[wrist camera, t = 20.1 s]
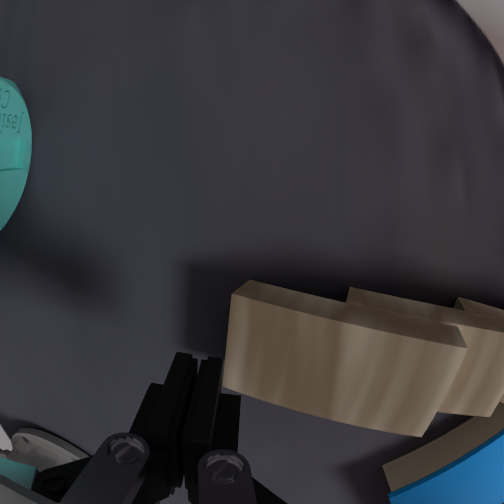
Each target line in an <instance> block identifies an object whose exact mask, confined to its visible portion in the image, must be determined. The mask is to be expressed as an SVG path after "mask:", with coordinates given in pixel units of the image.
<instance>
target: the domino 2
mask: <svg viewBox="0 0 504 504" xmlns="http://www.w3.org/2000/svg"><path fill="white" fill-rule="evenodd" d="M346 303H349V304H353V305H357V306H362V307H366V308H371V309H375V310H380V311H384V312H389V313H393V314H398V315H402V316H407V317H412V318H416V319H421V320H426V321H430V322H435V323H440V324H445V325H450V326H454V327H458V328H459V330H460V332H461V334H462V337H463V339H464V341H465V343H466V345H467V348H468V350H467V352H466V354H465V357H464V359H463V361H462V363H461V365H460V368H459V370H458V372H457V374H456V376H455V378H454V380H453V382H452V384H451V386H450V388H449V390H448V392H447V394H446V396H445V398H444V400H443V401H442V403H441V405H440V407H439V409H438V411H437V412H444V413H452V414H461V415H471V416H482V417H490V416H491V415H492V413H493V411H494V410H495V408H496V406H497V405H498V403H499V401H500V399H501V398H502V396H503V394H504V318H499V317H493V316H488V315H483V314H478V313H473V312H468V311H463V310H458V309H454V308H449V307H444V306H439V305H434V304H429V303H424V302H419V301H415V300H410V299H405V298H400V297H395V296H391V295H386V294H381V293H377V292H372V291H367V290H362V289H358V288H353V287H350V288H349V292H348V296H347V300H346Z"/></svg>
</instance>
